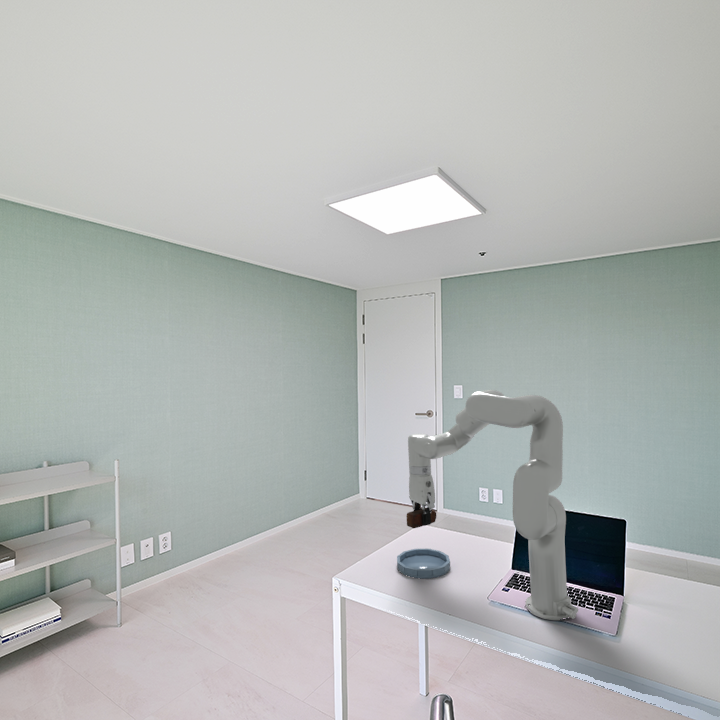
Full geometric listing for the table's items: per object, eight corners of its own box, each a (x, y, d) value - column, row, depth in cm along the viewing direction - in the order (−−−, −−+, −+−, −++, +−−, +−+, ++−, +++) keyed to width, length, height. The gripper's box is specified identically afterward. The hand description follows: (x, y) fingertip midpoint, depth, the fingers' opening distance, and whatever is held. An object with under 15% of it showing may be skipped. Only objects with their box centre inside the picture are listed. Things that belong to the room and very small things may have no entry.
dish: (460, 570, 155) (460, 562, 155) (415, 583, 148) (414, 574, 148) (430, 552, 172) (430, 545, 172) (388, 563, 164) (387, 555, 164)
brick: (414, 529, 155) (413, 515, 155) (406, 526, 158) (406, 512, 158) (436, 522, 161) (436, 508, 161) (429, 519, 164) (428, 506, 164)
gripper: (443, 473, 154) (445, 527, 154) (416, 464, 169) (418, 514, 169) (424, 476, 151) (426, 532, 151) (398, 467, 166) (400, 517, 166)
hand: (422, 522), depth 160 cm, fingers closed on brick, 4 cm apart
